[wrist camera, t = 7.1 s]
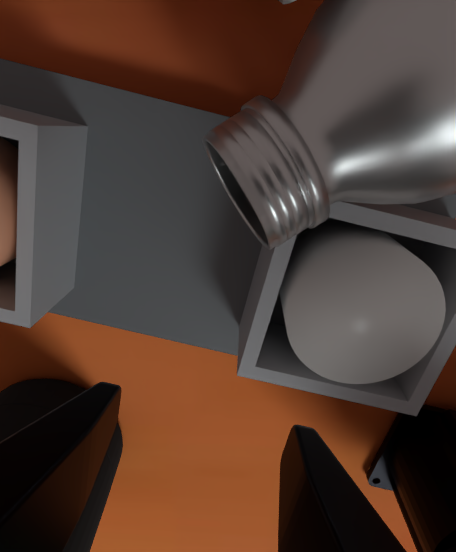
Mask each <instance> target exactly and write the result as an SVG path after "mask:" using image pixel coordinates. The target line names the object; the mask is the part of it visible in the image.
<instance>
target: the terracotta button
mask: <svg viewBox="0 0 456 552" xmlns="http://www.w3.org/2000/svg"><path fill="white" fill-rule="evenodd" d="M18 153H19V150H18V149H17V148H16V147H15V146H14V145H12V144H11V143H10V142H8V141H7V140H5V139H3V138H2V137H0V266H2V265H4V264H6V263H7V262H9V261H11V260H13V259H15V258H16V246H17V199H18Z"/></svg>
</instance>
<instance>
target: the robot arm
mask: <svg viewBox="0 0 456 552" xmlns="http://www.w3.org/2000/svg"><path fill="white" fill-rule="evenodd" d="M120 398H121V387H120V386H119V385H115V384H111V383H106V382H100V383H98V384H96V385H94V386H93V387H91V388H89V389H88V390H86V391H84V392H83V393H81V394H79V395H78V396H76V397H74V398H73V399H71V400H69V401H68V402H66V403H64V404H63V405H61V406H59V407H58V408H56V409H54V410H53V411H51V412H49V413H48V414H46V415H44V416H43V417H41V418H39V419H38V420H36V421H34V422H33V423H31V424H29V425H28V426H26V427H25V428H23V429H21V430H20V431H18V432H16V433H15V434H13V435H11V436H10V437H8V438H6V439H5V440H3V441H1V442H0V552H62V551H63V549H64V547H65V545H66V543H67V541H68V539H69V537H70V535H71V534H72V532H73V530H74V528H75V526H76V524H77V522H78V520H79V518H80V516H81V513H82V511H83V509H84V507H85V505H86V502H87V500H88V498H89V495H90V493H91V490H92V488H93V485H94V482H95V480H96V477H97V475H98V472H99V469H100V467H101V464H102V462H103V459H104V456H105V454H106V451H107V449H108V446H109V443H110V441H111V438H112V436H113V433H114V430H115V427H116V424H117V420H118V414H119V406H120ZM366 476H367V479H368V482H369V484H370V485H371V486H374V487H378V488H383V489H387V490H392V491H393V492H394V494H395V497H396V499H397V502H398V504H399V507H400V509H401V512H402V514H403V517H404V519H405V522H406V524H407V527H408V529H409V532H410V534H411V537H412V539H413V542H414V544H415V547H416V549H417V552H456V411H454V410H450V409H448V410H445V409H441V408H436V407H432V406H428V405H422V407H421V409H420V411H419V413H418V415H417V416H413V415H408V414H404V413H400V412H399V413H398V415H397V417H396V419H395V421H394V423H393V425H392V427H391V429H390V430H389V432H388V434H387V436H386V438H385V440H384V442H383V444H382V446H381V448H380V450H379V452H378V453H377V455H376V457H375V459H374V461H373V463H372V465H371V467H370V469H369V471H368V473H367V475H366ZM278 552H406V550H405V549H404V548H403V546H402V545H401V544H400V542H399V541H398V540H397V538H396V537H395V536H394V534H393V533H392V532H391V530H390V529H389V528H388V526H387V525H386V524H385V522H384V521H383V520H382V518H381V517H380V516H379V514H378V513H377V512H376V510H375V509H374V508H373V506H372V505H371V504H370V502H369V501H368V500H367V498H366V497H365V496H364V494H363V493H362V492H361V490H360V489H359V488H358V486H357V485H356V484H355V482H354V481H353V480H352V478H351V477H350V476H349V474H348V473H347V472H346V470H345V469H344V468H343V466H342V465H341V464H340V462H339V461H338V460H337V458H336V457H335V456H334V454H333V453H332V452H331V450H330V449H329V448H328V446H327V445H326V444H325V442H324V441H323V440H322V438H321V437H320V436H319V434H318V433H317V432H316V431H315V430H314V429H313V428H310V427H306V426H301V425H294V426H293V427H292V428H291V431H290V433H289V436H288V439H287V442H286V445H285V448H284V451H283V453H282V457H281V464H280V492H279V529H278Z"/></svg>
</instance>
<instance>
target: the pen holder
mask: <svg viewBox="0 0 456 552" xmlns="http://www.w3.org/2000/svg"><path fill="white" fill-rule="evenodd" d="M84 391H86V390H85V389H83V388H82V387H79V386H77V385H74V384H72V383H68V382H65V381H60V380H55V379H33V380H26V381H22V382H19V383H16V384H14V385H11V386H9V387H8V388H6V389H4V390H3V391H2V392H0V442H1V441H3V440H5V439H6V438H8V437H10V436H11V435H13V434H15V433H16V432H18V431H20V430H21V429H23V428H25V427H26V426H28V425H29V424H31V423H33V422H34V421H36V420H38V419H39V418H41V417H43V416H44V415H46V414H48V413H49V412H51V411H53V410H54V409H56V408H58V407H59V406H61V405H63V404H64V403H66V402H68V401H69V400H71V399H73V398H74V397H76V396H78V395H79V394H81V393H83V392H84ZM122 447H123V441H122V434H121V430H120V427H119V425H118V423H117V424H116V427H115V430H114V433H113V436H112V438H111V441H110V443H109V446H108V449H107V451H106V454H105V456H104V459H103V462H102V464H101V467H100V469H99V472H98V475H97V477H96V480H95V482H94V485H93V488H92V490H91V493H90V495H89V498H88V500H87V502H86V505H85V507H84V509H83V511H82V513H81V516H80V518H79V520H78V522H77V524H76V526H75V528H74V530H73V532H72V534H71V535H70V537H69V539H68V541H67V543H66V545H65V547H64V549H63V551H62V552H90V549H91V546H92V543H93V540H94V537H95V534H96V531H97V528H98V525H99V522H100V519H101V516H102V513H103V510H104V507H105V504H106V501H107V498H108V495H109V492H110V489H111V486H112V483H113V479H114V476H115V473H116V470H117V467H118V464H119V461H120V457H121V454H122Z"/></svg>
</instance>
